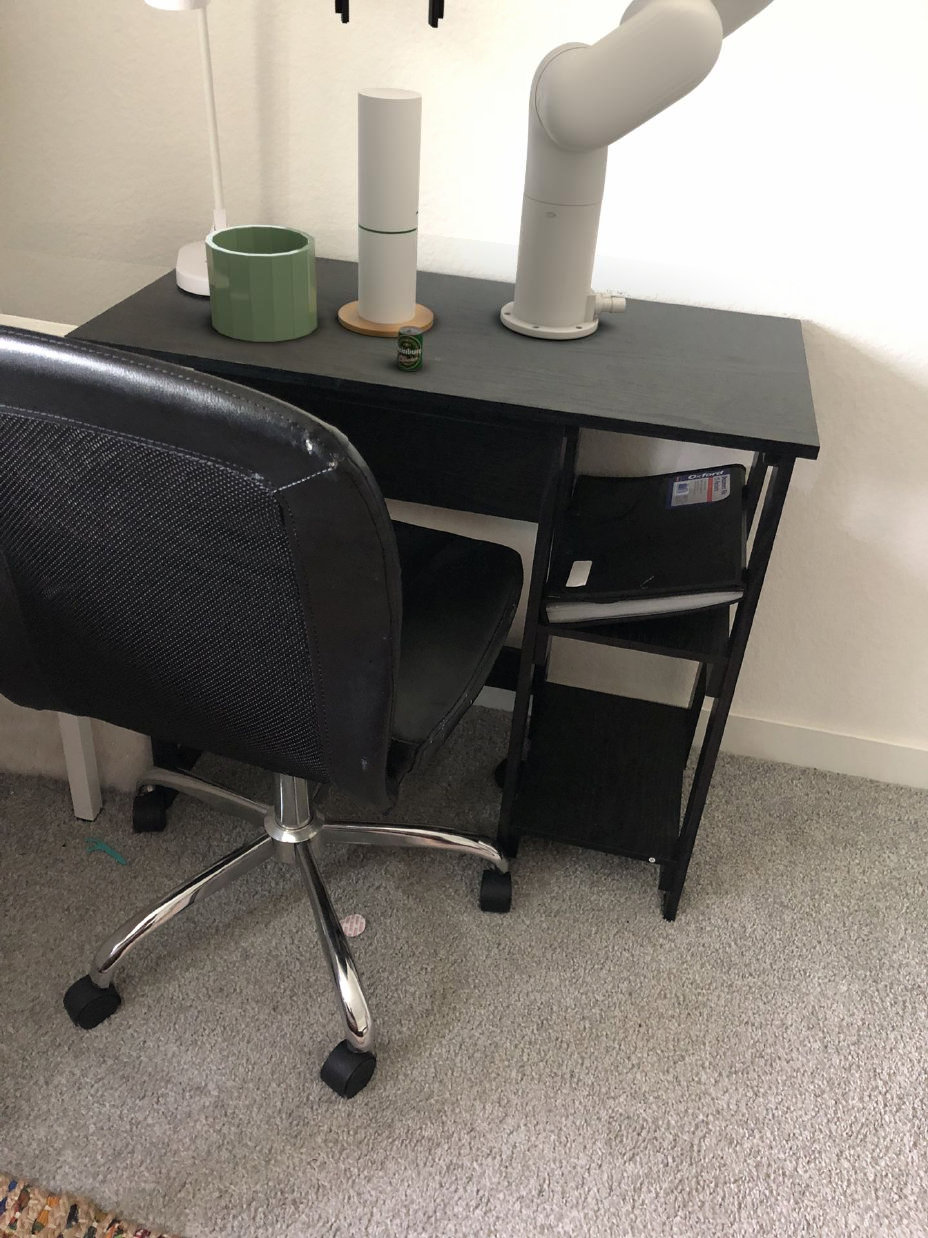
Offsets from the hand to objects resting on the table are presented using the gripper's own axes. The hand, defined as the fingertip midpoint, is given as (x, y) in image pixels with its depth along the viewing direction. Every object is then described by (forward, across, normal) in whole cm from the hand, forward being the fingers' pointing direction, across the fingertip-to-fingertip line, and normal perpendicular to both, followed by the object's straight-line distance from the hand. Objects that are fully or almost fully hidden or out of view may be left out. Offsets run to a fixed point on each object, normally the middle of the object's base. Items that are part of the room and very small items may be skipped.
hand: (389, 23), depth 110 cm
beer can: (+32, +1, -17) cm, 37 cm away
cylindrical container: (+32, 0, -2) cm, 32 cm away
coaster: (+32, 0, -2) cm, 32 cm away
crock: (+32, -15, -3) cm, 36 cm away
